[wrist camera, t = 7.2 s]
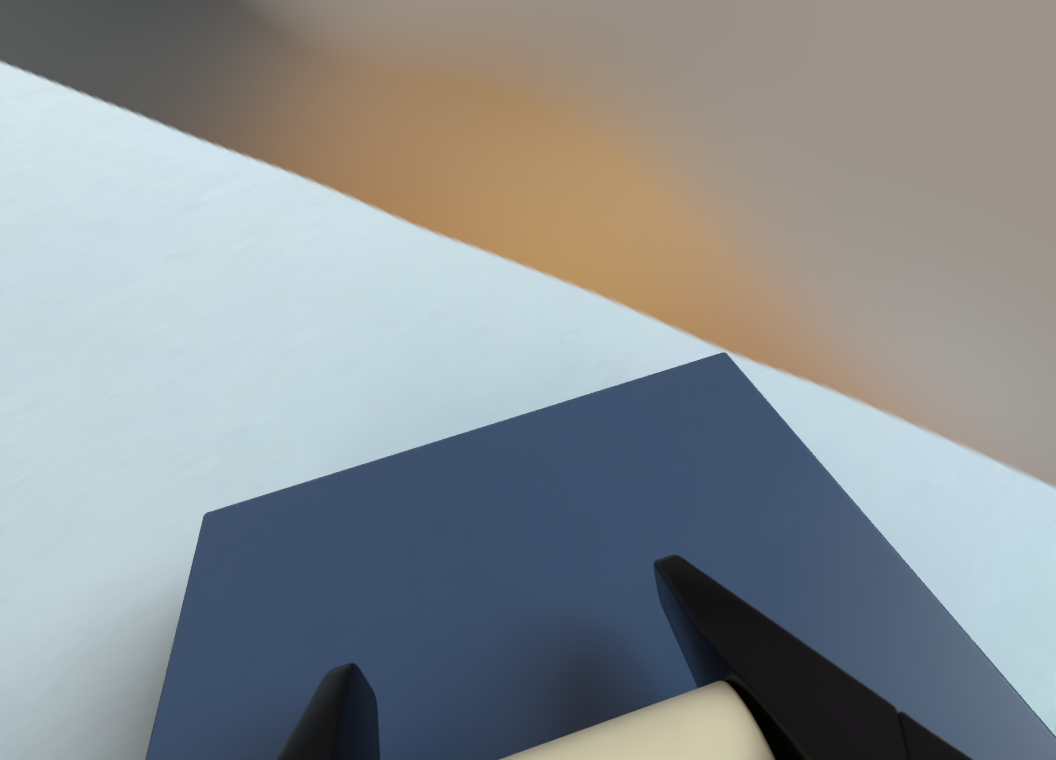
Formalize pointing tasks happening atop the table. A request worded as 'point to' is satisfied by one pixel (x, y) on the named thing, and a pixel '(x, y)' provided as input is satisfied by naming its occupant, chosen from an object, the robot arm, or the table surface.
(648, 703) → the lunchbox lid
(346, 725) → the robot arm
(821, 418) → the table surface
